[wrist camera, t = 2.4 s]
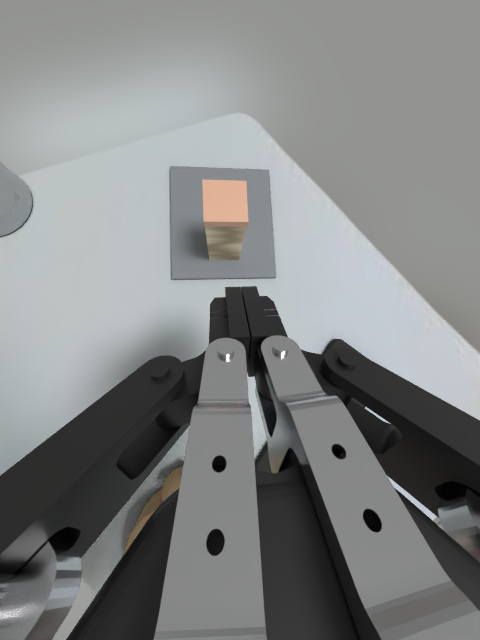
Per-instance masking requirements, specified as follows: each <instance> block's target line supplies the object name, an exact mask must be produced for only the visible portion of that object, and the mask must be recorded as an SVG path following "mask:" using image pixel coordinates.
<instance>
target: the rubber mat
mask: <svg viewBox="0 0 480 640" xmlns="http://www.w3.org/2000/svg"><path fill="white" fill-rule="evenodd" d="M202 179H204V180H236V181H246V185H247V203H248V226H247V228H246V232H245V236H244V241H243V245H242V249H241V254H240V258H239V260H209V253H208V246H207V238H206V231H205V226H204V218H203V186H202ZM170 203H171V269H172V280H196V279H253V278H276V268H275V253H274V238H273V223H272V208H271V192H270V177H269V170H260V169H232V168H205V167H178V166H170Z"/></svg>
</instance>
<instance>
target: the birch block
mask: <svg viewBox="0 0 480 640" xmlns="http://www.w3.org/2000/svg"><path fill="white" fill-rule="evenodd" d="M202 186H203V218H204V226H205V231H206V238H207V246H208V253H209V260H239V258H240V254H241V249H242V245H243V241H244V236H245V232H246V228H247V226H248V203H247V185H246V181H236V180H204V179H202Z"/></svg>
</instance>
